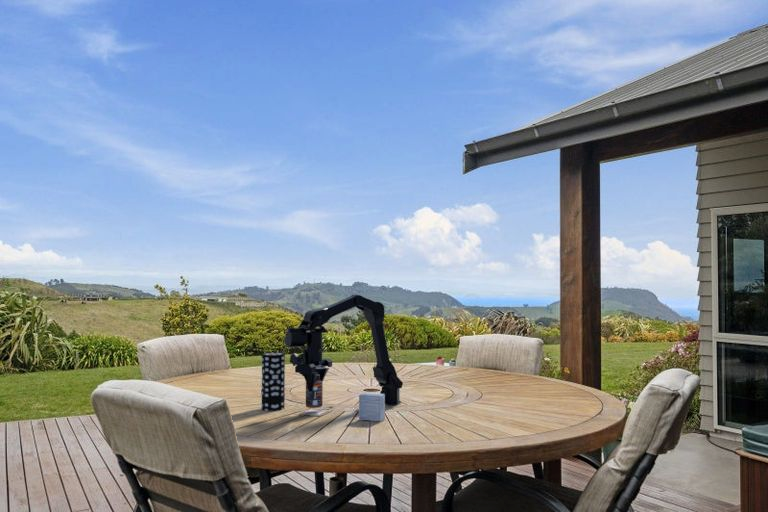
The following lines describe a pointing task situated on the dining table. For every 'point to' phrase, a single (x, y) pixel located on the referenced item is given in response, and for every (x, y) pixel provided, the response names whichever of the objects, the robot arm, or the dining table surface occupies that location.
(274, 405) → the spotted tube
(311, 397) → the supplement bottle
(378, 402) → the medicine box
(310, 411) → the coaster
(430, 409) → the dining table surface
